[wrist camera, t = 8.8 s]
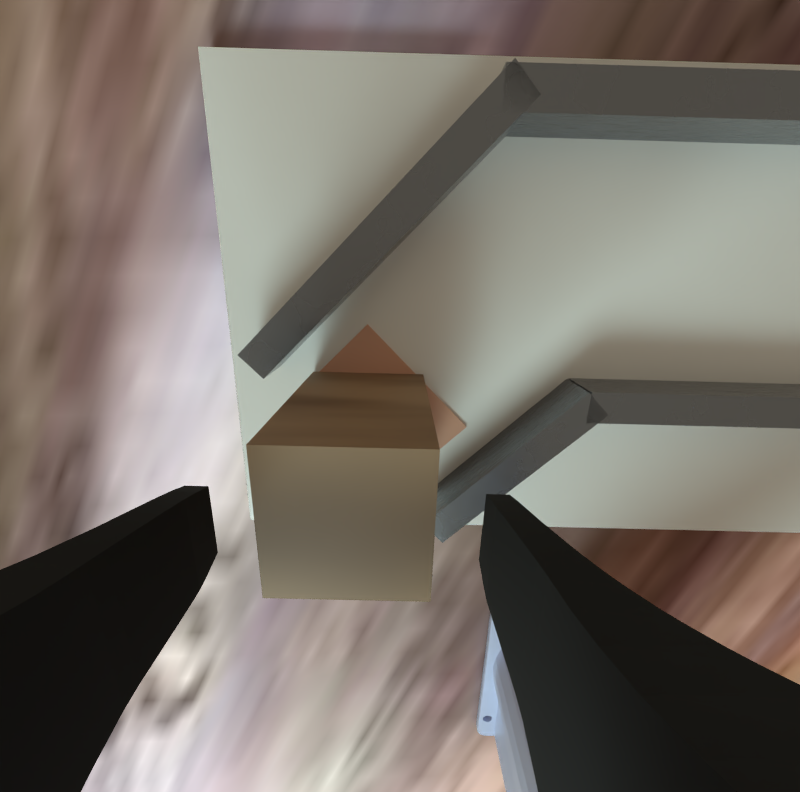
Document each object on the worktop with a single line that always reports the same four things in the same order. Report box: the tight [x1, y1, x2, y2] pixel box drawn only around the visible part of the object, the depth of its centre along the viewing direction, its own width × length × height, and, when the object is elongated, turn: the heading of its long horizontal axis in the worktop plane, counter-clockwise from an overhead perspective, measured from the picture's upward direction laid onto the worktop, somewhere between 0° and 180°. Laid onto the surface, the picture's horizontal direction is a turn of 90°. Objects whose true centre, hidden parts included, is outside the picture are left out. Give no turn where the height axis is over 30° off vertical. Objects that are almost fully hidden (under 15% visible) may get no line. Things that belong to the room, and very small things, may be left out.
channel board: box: [198, 47, 800, 533], centre depth 15 cm, size 18×27×1 cm, turn 89°
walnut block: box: [246, 372, 440, 602], centre depth 13 cm, size 4×4×7 cm
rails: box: [238, 58, 800, 543], centre depth 14 cm, size 16×25×2 cm, turn 89°
